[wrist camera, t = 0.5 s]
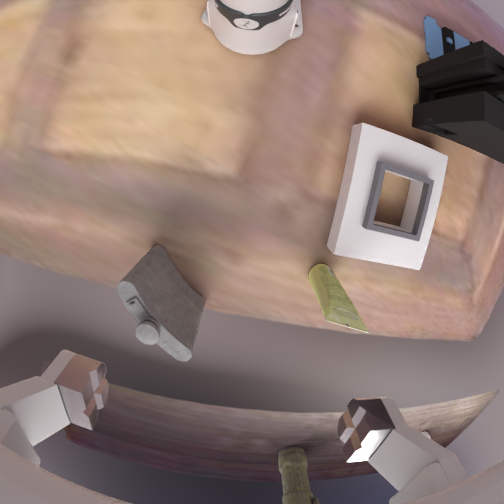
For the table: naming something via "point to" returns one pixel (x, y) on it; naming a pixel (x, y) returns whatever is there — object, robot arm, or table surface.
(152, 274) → the hip flask
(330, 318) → the tube
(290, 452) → the thermos
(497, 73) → the game console
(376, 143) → the white box with hole
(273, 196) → the table surface
